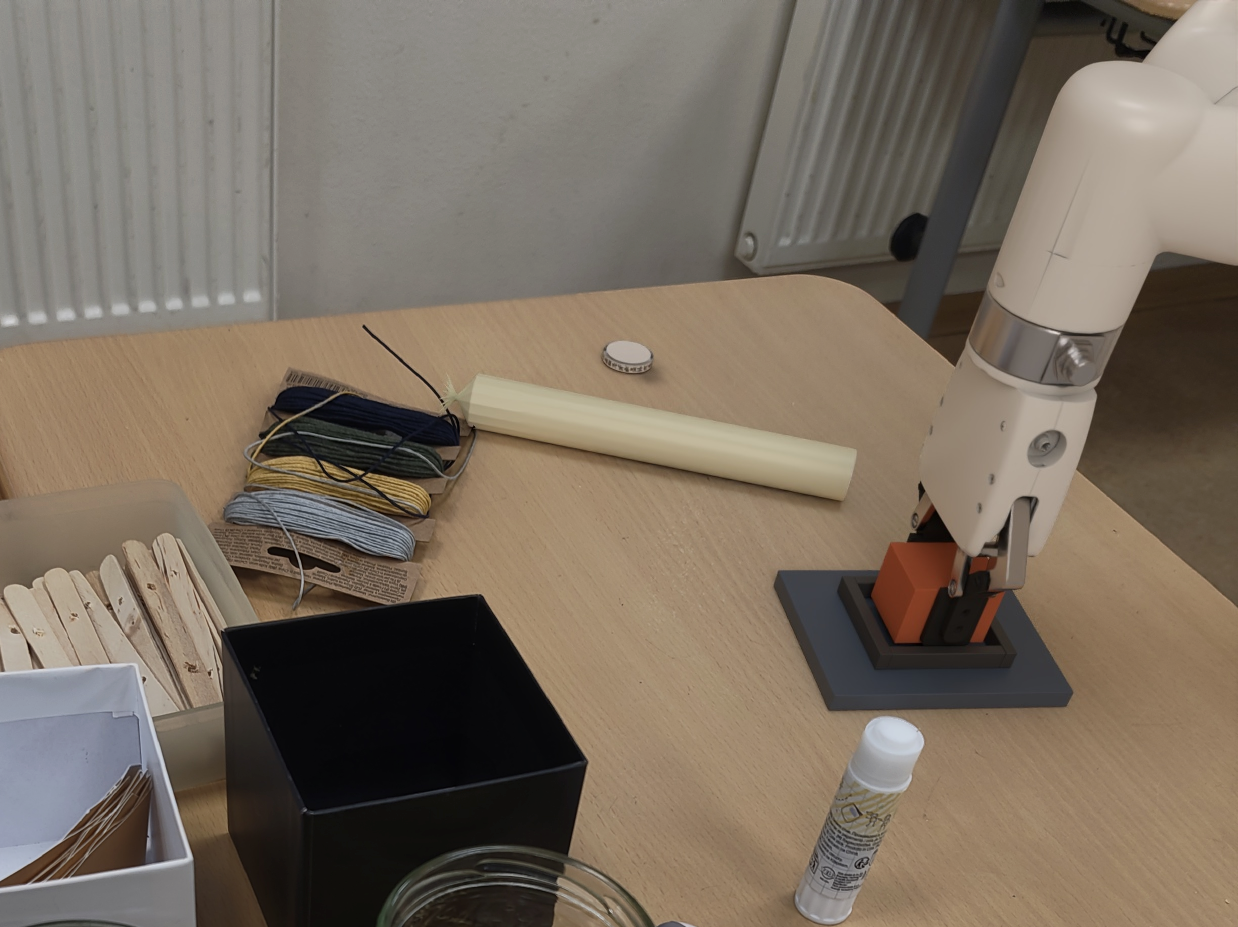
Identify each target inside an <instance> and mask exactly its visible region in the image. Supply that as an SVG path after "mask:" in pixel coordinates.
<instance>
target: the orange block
mask: <svg viewBox="0 0 1238 927" xmlns="http://www.w3.org/2000/svg"><path fill="white" fill-rule="evenodd" d="M957 548H958V544H957V543H915V542H907V541H904V542H902V541H901V542H900V541H897V542H896V541H893V542H890V543H889V545H888V548H887V550H886V553H885V555H884V559H883V560H882V564H881V566H880V568H879V570H880V572H879V575H878V577H877V580H876V583H875V586H874V588H873V591H872V594H871V597H872V599H873V601H874V603H875V605H876V607H877V609H878V611H879V613H880V615H881V617H882V619H883V621H884V623H885V625H886V627H887V629H888V631H889V633H890V635H891V637H892V639H893V641H894V643H922V642H921V640H920V635H921V633H922V631H923V628H924V626H925V623H926V621H927V618H928V616H929V613H930V611H931V609H932V606H933V604H934V601H935V599H936V596H937V594H938V591H939V589H940V587H948V583H949V579H950V575H951V571H952V568H953V564H954V560H955V556H956V552H957ZM988 560H989V557H973V560H972V564H971V568H970V572H969V574H971V573H974V572H977V571H981V570H986V568H987V564H988ZM1004 594H1005V591H1004V592H1001V593H998V594H997V595H996V597H994V598H989V600H988V602H987V604H986V607H985V609H984V611H983V613H982V616H981V618H980V620H979V622H978V625H977V627H976V629H975V631H974V634H973V636H972V638H971V640H970V642H969V643H973V642H983V640H984V638H985V636H986V633H987V631H988V629H989V627H990V625H991V622H992V620H993V618H994V616H995V614H996V611H997V609H998V607H999V605H1000V602H1001V600H1002V598H1003V596H1004Z"/></svg>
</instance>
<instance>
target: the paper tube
mask: <svg viewBox="0 0 1238 927" xmlns="http://www.w3.org/2000/svg"><path fill="white" fill-rule="evenodd" d="M445 375H446V377H444V378H445V381H446V384H447V385H446V384H445V383H444V382H442V381H441V383H443V385H444V387H445V389H446V390H439V392H440V391H441V392H443V393H444V394H445V395H446V396H442V397H440V400H444V402H442V403H441V404H440V405H439V407H441V406H442V407H441V409H440V410H439V411H438V413H440V414H439V415H441V416H442V414H444V412H445V411H446V410H448V408H449V407H450V406H451V405H452V404H453V403H454V402H455V401H456V402H457V404H458V405H459V408H460V410H461V412H462V415H463V417H464V419H465V422H466V424H467V423H471V424H473V425H474V426H475V427H476V428H474V429H476V430H481V431H486V432H490V433H491V432H492V433H496V434H501V435H505V436H513V437H517V438H522V439H527V440H531V441H537V442H542V443H546V444H553V445H557V446H562V447H566V448H571V449H576V450H581V451H582V450H583V451H587V452H593V453H598V454H602V455H608V456H612V457H616V458H617V457H618V458H623V459H628V460H633V461H638V462H643V463H648V464H653V465H658V466H663V467H667V468H674V469H679V470H684V471H688V472H694V473H699V474H704V475H708V476H713V477H719V478H723V479H729V480H733V481H739V482H743V483H748V484H753V485H758V486H763V487H764V486H765V487H768V488H773V489H779V490H785V491H790V492H793V493H799V494H804V495H809V496H815V497H820V498H824V499H828V500H833V501H838V502H839V501H840V502H843V501H844V500H845V498H846V496H847V494H848V490H849V487H850V484H851V481H852V478H853V474H854V470H855V466H856V461H857V456H858V455H857V454H858V450H857V449H856V448H853V447H850V446H849V447H848V446H843V445H840V444H839V445H838V444H834V443H828V442H824V441H818V440H813V439H808V438H803V437H799V436H793V435H788V434H783V433H779V432H773V431H768V430H763V429H758V428H754V427H750V426H744V425H739V424H733V423H728V422H723V421H718V420H713V419H710V418H703V417H699V416H694V415H688V414H684V413H679V412H674V411H668V410H664V409H659V408H654V407H649V406H643V405H640V404H639V405H638V404H634V403H630V402H624V401H618V400H614V399H609V398H604V397H599V396H594V395H590V394H584V393H580V392H574V391H569V390H564V389H559V388H555V387H549V386H545V385H540V384H536V383H535V384H534V383H530V382H524V381H521V380H514V379H510V378H505V377H500V376H496V375H491V374H486V373H482V372H478V373H477V374H476V375H474V377H473V378H472V379H471V380H470V381H469V382H468V383H467V384H466V385H465V386H464V387H463V388H462V389H461V391H459V392H456V390H455V388H454V385H453V383H452V381H451V380H452V379H451V378H450V376H449V374H448V372H446V373H445Z"/></svg>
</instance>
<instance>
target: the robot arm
mask: <svg viewBox="0 0 1238 927" xmlns="http://www.w3.org/2000/svg"><path fill="white" fill-rule="evenodd" d="M1056 96H1057V97H1056V99H1055V101H1054V104H1053V106H1052V108H1051V111H1050V113H1049V116H1048V118H1047V121H1046V124H1045V127H1044V129H1043V132H1042V135H1041V137H1040V140H1039V143H1038V146H1037V149H1036V152H1035V154H1034V157H1033V160H1032V162H1031V165H1030V168H1029V170H1028V173H1027V176H1026V179H1025V182H1024V183H1023V186H1022V189H1021V192H1020V194H1019V197H1018V201H1017V203H1016V206H1015V209H1014V211H1013V214H1012V217H1011V220H1010V222H1009V225H1008V227H1007V230H1006V233H1005V236H1004V238H1003V241H1002V243H1001V246H1000V249H999V252H998V255H997V258H996V260H995V263H994V265H993V268H992V271H991V274H990V276H989V279H988V281H987V284H986V287H985V290H984V292H983V295H982V297H981V300H980V303H979V305H978V309H977V311H976V314H975V317H974V320H973V323H972V325H971V328H970V331H969V333H968V336H967V338H966V341H965V344H964V345H965V346H964V349H963V350H962V351H961V355H960V356H959V358H958V361H957V363H956V364H955V367H954V369H953V371H952V373H951V375H950V378H949V380H948V382H947V385H946V387H945V389H944V392H943V393H942V396H941V398H940V401H939V403H938V405H937V408H936V410H935V412H934V415H933V418H932V421H931V422H930V426H929V428H928V431H927V434H926V437H925V439H924V442H923V443H922V445H921V448H920V453H919V454H920V456H919V459H918V464H917V466H918V467H917V470H918V477H919V483H918V484H917V490H918V503H917V505H916V506H915V508H914V510H913V512H912V514H911V516H910V522H909V523H910V529H911V530H912V532H909V533H908V537H907V539H906V542H915V543H957V544H958V548H957V552H956V556H955V560H954V564H953V568H952V571H951V575H950V579H949V583H948V587H940V589H939V591H938V594H937V596H936V599H935V601H934V604H933V606H932V609H931V611H930V613H929V616H928V618H927V621H926V623H925V626H924V628H923V631H922V633H921V635H920V640H921V642H922V644H923V646H965V645H967V644H968V643H969V642H970V640H971V638H972V636H973V634H974V631H975V629H976V627H977V625H978V622H979V620H980V618H981V616H982V613H983V611H984V609H985V607H986V604H987V602H988V600H989V598H994V597H996V595H997V594H998V593H1001V592H1004V591H1010V590H1012V591H1018V590H1022V589H1023V588H1024V586H1025V584H1026V577H1027V566H1028V565H1027V563H1028V557H1029V558H1036V557H1038V556H1039V555H1040V554H1041V552H1042V551H1043V550H1044V548H1045V546H1046V544H1047V542H1048V540H1049V539H1050V536H1051V533H1052V532H1053V529H1054V527H1055V524H1056V522H1057V519H1058V517H1059V514H1060V513H1061V510H1062V507H1063V505H1064V503H1065V500H1066V498H1067V494H1068V492H1069V490H1070V487H1071V484H1072V481H1073V479H1074V476H1075V473H1076V471H1077V468H1078V465H1079V462H1080V459H1081V456H1082V454H1083V451H1084V447H1085V444H1086V441H1087V437H1088V434H1089V431H1090V427H1091V424H1092V420H1093V417H1094V411H1095V407H1096V403H1097V399H1098V394H1097V391H1096V390H1095V387H1096V386H1098V384H1099V382H1100V381H1101V379H1102V377H1103V374H1104V373H1105V372H1104V371H1105V369H1106V368H1107V366H1108V363H1109V361H1110V359H1111V356H1112V354H1113V352H1114V349H1115V348H1116V345H1117V343H1118V340H1119V338H1120V336H1121V334H1122V332H1123V329H1124V327H1125V325H1126V323H1127V320H1128V318H1129V316H1130V314H1131V312H1132V310H1133V307H1134V305H1135V304H1136V301H1137V299H1138V297H1139V294H1140V292H1141V290H1142V288H1143V285H1144V283H1145V281H1146V279H1147V276H1148V274H1149V272H1150V270H1151V267H1152V265H1153V263H1154V261H1155V259H1156V257H1157V255H1159V254H1161V253H1174V254H1179V255H1182V256H1183V255H1184V256H1189V257H1194V258H1197V259H1202V260H1206V261H1210V262H1214V263H1219V264H1224V265H1230V266H1236V267H1238V0H1196V1H1195V2H1194V3H1193V4H1192V5H1191V6H1190V7H1189V8H1188V9H1187V10H1186V11H1185V12H1184V13H1183V14H1182V15H1181V16H1180V17H1179V18H1178V19H1177V20H1176V21H1175V22H1174V23H1173V24H1172V25H1171V27H1169V29H1168V30H1167V31H1166V32H1165V33H1164V35H1162V36H1161V38H1160V39H1159V40H1158V41H1157V43H1156V44H1155V46H1154V47H1153V48H1152V49H1151V50H1150V52H1148V54H1147V55H1146V56H1145V58H1144V59H1143V60H1142V62H1137V61H1131V60H1108V61H1107V60H1106V61H1098V62H1093V63H1090V64H1087V65H1085V66H1084V67H1082V68H1080V69H1078V70H1077V71H1075V72H1074V73H1073V74H1072V75H1071V76H1070V77H1069V78H1068V79H1067V81H1066V82H1065V83H1064V84H1063V86H1062V87H1061V88H1060V91H1058V94H1057V95H1056ZM913 531H914V532H913ZM993 539H995V541H994V540H993ZM973 557H987V558H988V559H989V560H988V564H987V568H986V570H981V571H977V572H974V573H971V574H969V572H970V568H971V564H972V560H973Z"/></svg>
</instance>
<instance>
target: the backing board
mask: <svg viewBox="0 0 1238 927" xmlns="http://www.w3.org/2000/svg"><path fill="white" fill-rule="evenodd" d="M879 572H880V569H778V570H777V573H776V576H775V580H774V582H773V587H774V588H775V591H776V593H777V594H776V595H777V596H778V598H779V600H780V602H781V605H782V607H783V609H784V612H785V614H786V617H787V619H788V621H789V623H790V625H791V627H792V630H793V632H794V635H795V637H796V639H797V641H798V643H799V646H800V648H801V650H802V652H803V655H804V657H805V659H806V661H807V664H808V666H809V669H810V671H811V673H812V675H813V677H814V680H815V682H816V684H817V686H818V688H819V691H820V694H821V696H822V698H823V700H824V702H825V705H826V707H827V709H828V711H881V710H882V711H883V710H939V709H940V710H944V709H945V710H946V709H947V710H948V709H950V710H951V709H999V708H1000V709H1001V708H1004V709H1005V708H1006V709H1007V708H1064V707H1067V706H1068V704H1069V702H1070V700H1071V699H1072V696H1073V695H1074V693H1075V692H1074V689H1073V688H1072V686H1071V685H1070V683H1069V682H1068V680H1067V678H1066V677H1065V675H1064V673H1063V672H1062V670H1061V668H1060V666H1059V665H1058V663H1057V661H1056V660H1055V658H1054V656H1053V655H1052V654H1051V652H1050V650H1049V648H1048V647H1047V645H1046V644H1045V642H1044V640H1043V639H1042V637H1041V635H1040V634H1039V632H1038V630H1037V628H1036V627H1035V625H1034V624H1033V622H1032V620H1031V619H1030V617H1029V615H1028V614H1027V612H1026V611H1025V609H1024V606H1023V605H1022V604H1021V602H1020V600H1019V599H1018V597H1017V596H1016V594H1015V592H1014V590H1010V591H1005V594H1004V596H1003V598H1002V600H1001V602H1000V605H999V607H998V609H997V611H996V614H995V616H994V618H993V620H992V622H991V625H990V627H989V629H988V631H987V633H986V636H985V638H984V640H983V642H973V643H968V644H967V645H965V646H923V644H922V643H894V641H893V639H892V637H891V635H890V633H889V631H888V629H887V627H886V625H885V623H884V621H883V619H882V617H881V615H880V613H879V611H878V609H877V607H876V605H875V603H874V601H873V599H872V597H871V594H872V591H873V588H874V586H875V583H876V580H877V577H878V575H879Z"/></svg>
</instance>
